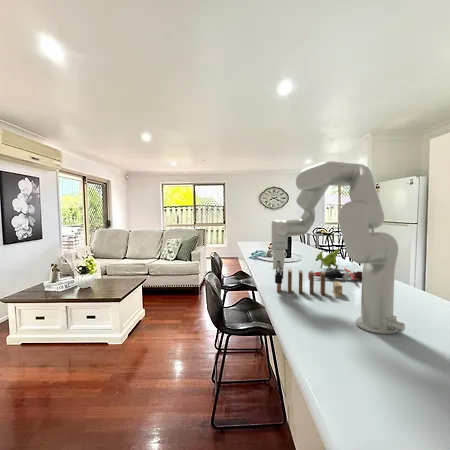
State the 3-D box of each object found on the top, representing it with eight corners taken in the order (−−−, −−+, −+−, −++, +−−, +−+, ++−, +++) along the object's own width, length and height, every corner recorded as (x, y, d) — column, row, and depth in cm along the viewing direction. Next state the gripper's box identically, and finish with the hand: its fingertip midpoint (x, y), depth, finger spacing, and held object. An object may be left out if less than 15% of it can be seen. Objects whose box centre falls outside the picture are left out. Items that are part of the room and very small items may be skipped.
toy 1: (318, 275, 195) (310, 256, 192) (339, 257, 203) (331, 239, 199) (327, 277, 188) (319, 258, 184) (349, 259, 195) (341, 240, 191)
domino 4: (313, 291, 140) (313, 270, 139) (313, 294, 135) (313, 273, 134) (309, 291, 140) (309, 270, 140) (309, 294, 135) (310, 273, 135)
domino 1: (281, 289, 143) (281, 269, 143) (280, 292, 138) (280, 271, 138) (277, 289, 144) (277, 269, 143) (277, 292, 139) (277, 271, 138)
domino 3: (302, 290, 141) (302, 270, 140) (302, 293, 136) (302, 272, 135) (298, 290, 141) (299, 270, 141) (298, 293, 136) (299, 272, 136)
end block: (339, 292, 138) (339, 281, 138) (342, 297, 130) (342, 286, 130) (333, 292, 139) (333, 281, 139) (335, 296, 131) (335, 285, 131)
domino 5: (323, 292, 138) (324, 271, 138) (324, 295, 134) (325, 273, 133) (320, 292, 139) (320, 271, 138) (321, 295, 134) (321, 273, 133)
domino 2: (291, 290, 142) (291, 269, 142) (291, 293, 137) (291, 272, 137) (288, 290, 142) (288, 269, 142) (287, 292, 138) (288, 271, 137)
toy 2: (310, 285, 153) (371, 288, 147) (310, 274, 153) (372, 277, 147) (306, 273, 181) (358, 275, 174) (306, 264, 180) (359, 266, 174)
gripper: (273, 243, 149) (272, 276, 150) (269, 247, 132) (269, 284, 133) (288, 243, 147) (287, 277, 148) (286, 248, 131) (286, 285, 132)
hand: (279, 280), depth 141 cm, fingers open, 9 cm apart
